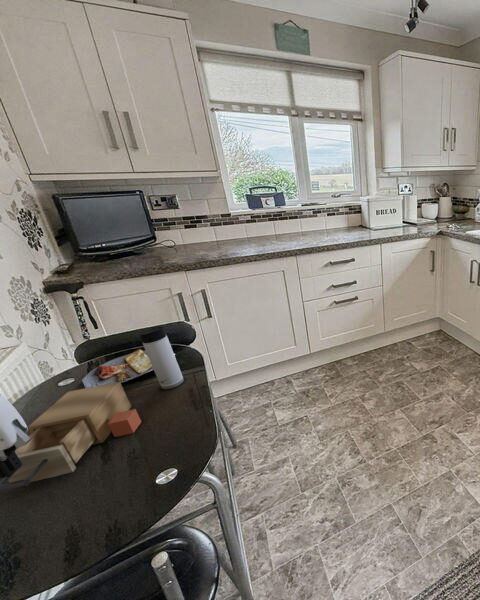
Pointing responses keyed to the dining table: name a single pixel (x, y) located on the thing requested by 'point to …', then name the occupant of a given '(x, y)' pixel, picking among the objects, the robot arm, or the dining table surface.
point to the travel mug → (162, 357)
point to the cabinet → (87, 409)
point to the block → (124, 423)
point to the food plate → (119, 369)
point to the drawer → (50, 452)
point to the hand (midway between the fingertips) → (11, 471)
